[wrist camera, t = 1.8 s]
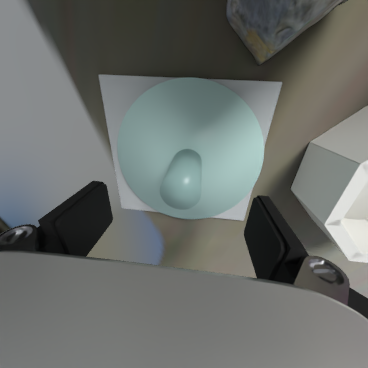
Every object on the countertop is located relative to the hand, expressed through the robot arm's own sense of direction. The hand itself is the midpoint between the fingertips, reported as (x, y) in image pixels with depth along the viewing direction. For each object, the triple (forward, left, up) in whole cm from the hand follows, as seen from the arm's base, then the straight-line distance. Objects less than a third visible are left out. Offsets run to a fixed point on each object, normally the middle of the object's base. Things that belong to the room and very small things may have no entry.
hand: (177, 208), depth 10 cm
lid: (-1, 0, -7) cm, 7 cm away
